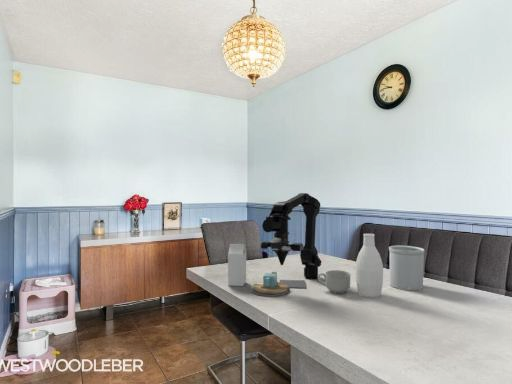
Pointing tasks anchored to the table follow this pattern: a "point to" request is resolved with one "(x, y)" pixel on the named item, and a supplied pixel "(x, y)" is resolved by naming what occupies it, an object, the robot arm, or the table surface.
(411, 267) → the utensil holder
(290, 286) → the mat
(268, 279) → the blue cube with post
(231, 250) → the milk carton
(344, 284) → the teacup
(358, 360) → the table surface
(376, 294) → the bottle
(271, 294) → the turntable base
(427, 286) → the table surface
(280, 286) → the turntable
